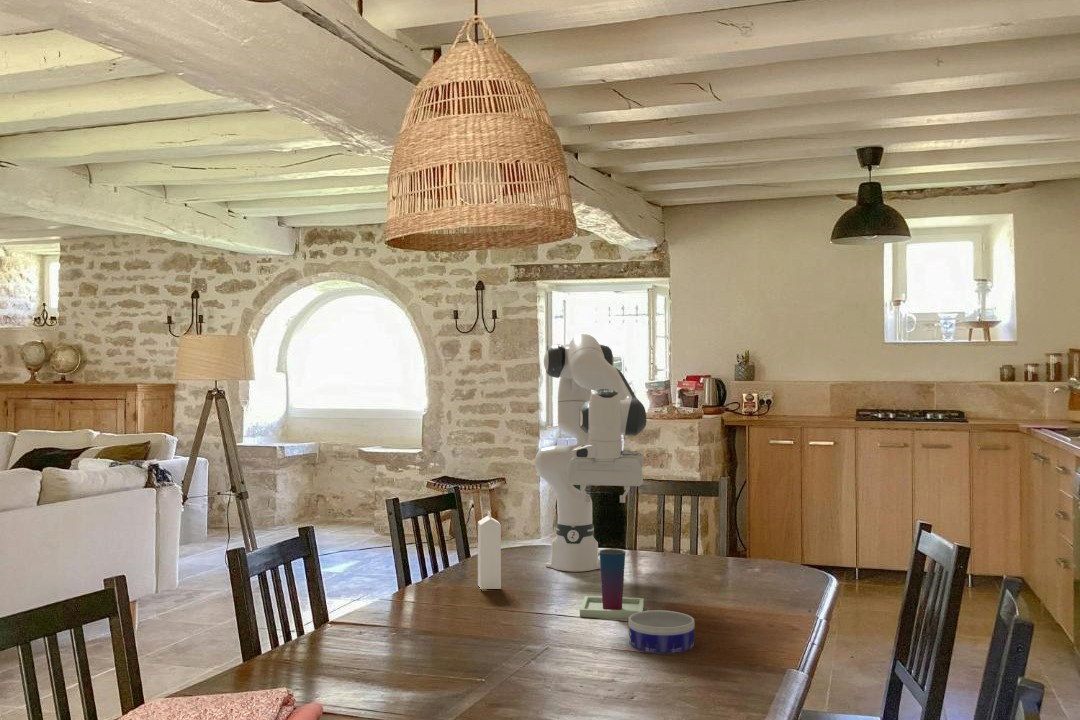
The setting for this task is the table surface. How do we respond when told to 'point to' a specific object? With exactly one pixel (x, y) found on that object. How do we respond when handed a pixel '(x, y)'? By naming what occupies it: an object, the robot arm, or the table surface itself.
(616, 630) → the table surface
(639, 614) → the dog bowl
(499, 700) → the table surface
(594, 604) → the tray
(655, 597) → the table surface
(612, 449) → the robot arm
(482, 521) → the milk
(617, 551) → the cup
